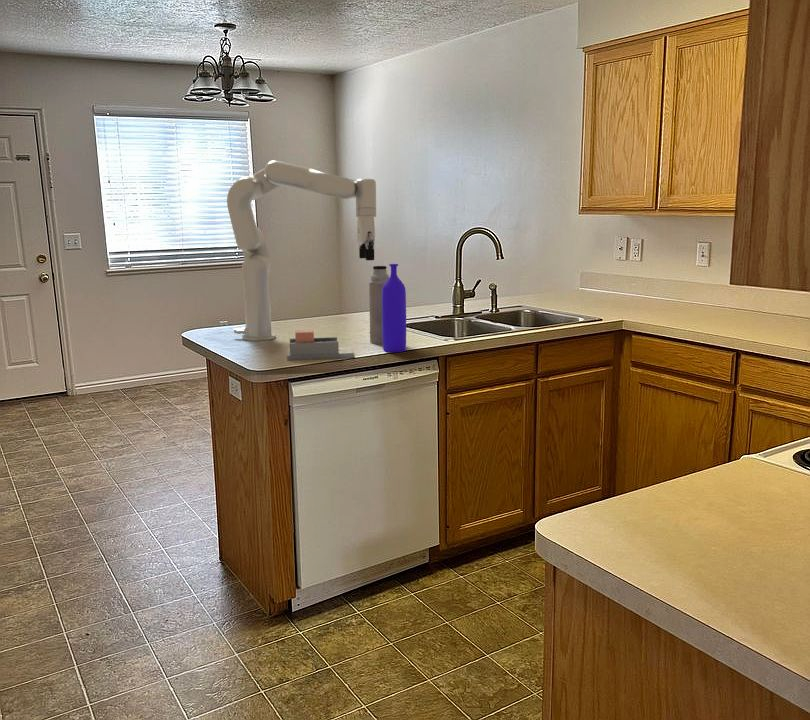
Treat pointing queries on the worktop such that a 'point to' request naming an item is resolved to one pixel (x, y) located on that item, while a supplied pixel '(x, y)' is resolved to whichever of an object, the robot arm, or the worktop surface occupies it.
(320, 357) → the chute
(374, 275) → the thermos bottle
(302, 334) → the block
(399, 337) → the bottle
